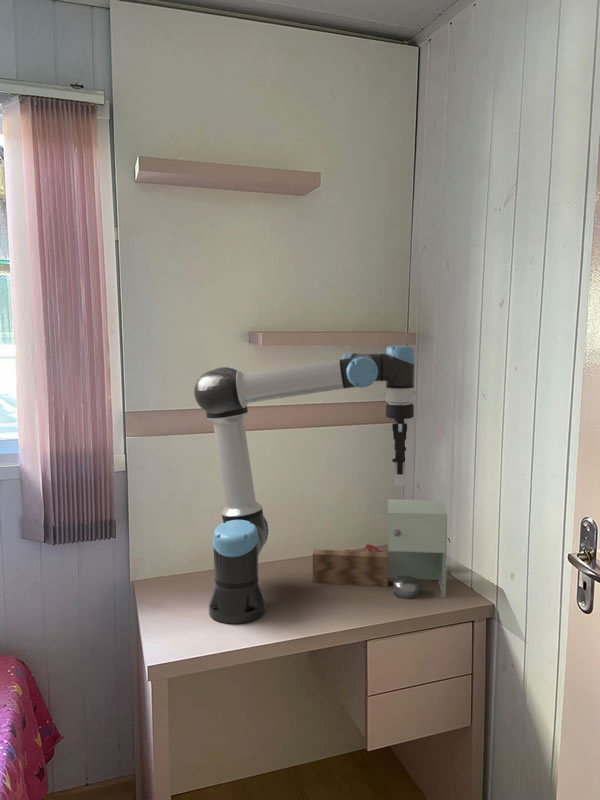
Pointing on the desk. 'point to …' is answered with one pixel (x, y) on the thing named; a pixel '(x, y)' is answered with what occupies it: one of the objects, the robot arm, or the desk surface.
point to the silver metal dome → (405, 587)
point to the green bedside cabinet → (417, 540)
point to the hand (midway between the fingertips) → (399, 479)
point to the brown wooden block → (350, 567)
